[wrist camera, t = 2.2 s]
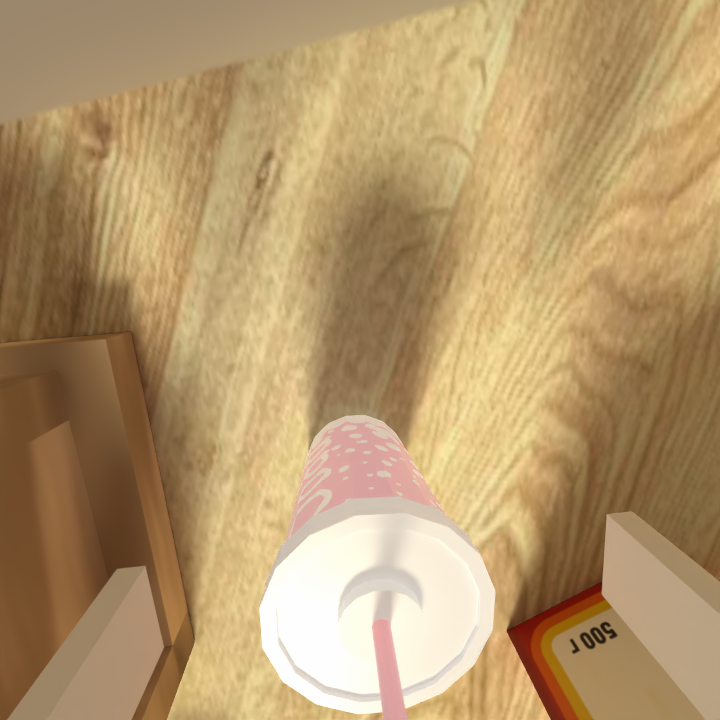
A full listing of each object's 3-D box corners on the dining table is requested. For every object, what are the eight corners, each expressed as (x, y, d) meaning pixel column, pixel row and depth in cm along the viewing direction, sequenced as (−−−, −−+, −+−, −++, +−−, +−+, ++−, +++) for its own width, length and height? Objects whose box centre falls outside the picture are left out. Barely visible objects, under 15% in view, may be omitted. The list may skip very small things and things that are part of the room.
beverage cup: (373, 373, 18) (511, 671, 5) (443, 472, 19) (713, 936, 6) (264, 447, 19) (85, 936, 5) (340, 540, 20) (367, 1128, 6)
